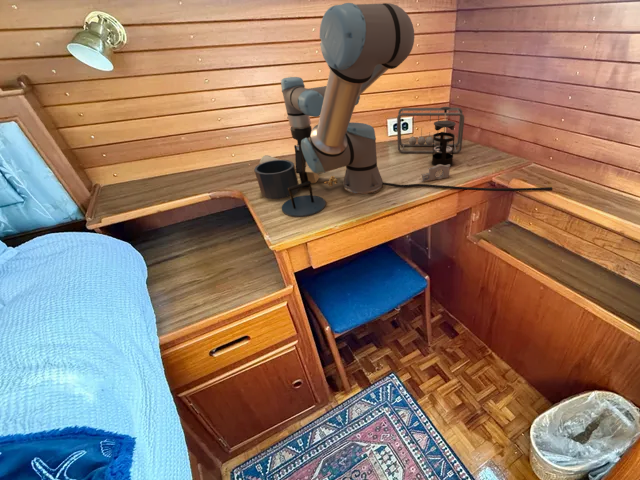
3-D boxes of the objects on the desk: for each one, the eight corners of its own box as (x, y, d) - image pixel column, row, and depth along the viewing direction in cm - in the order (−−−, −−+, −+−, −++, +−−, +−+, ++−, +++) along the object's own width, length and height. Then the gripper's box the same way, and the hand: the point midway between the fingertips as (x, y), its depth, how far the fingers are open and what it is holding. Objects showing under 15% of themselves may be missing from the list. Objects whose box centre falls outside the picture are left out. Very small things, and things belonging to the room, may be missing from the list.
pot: (306, 192, 125) (300, 166, 119) (270, 204, 118) (263, 177, 112) (290, 181, 134) (284, 156, 127) (256, 191, 127) (248, 166, 120)
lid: (333, 208, 115) (330, 184, 109) (294, 223, 107) (288, 198, 102) (313, 194, 124) (308, 171, 118) (275, 207, 116) (268, 183, 111)
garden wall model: (422, 182, 131) (423, 167, 127) (420, 180, 132) (421, 166, 128) (449, 177, 134) (450, 163, 130) (447, 175, 135) (448, 161, 131)
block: (319, 179, 135) (317, 167, 132) (315, 184, 131) (313, 172, 128) (307, 178, 135) (305, 167, 132) (303, 184, 131) (301, 171, 128)
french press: (454, 167, 142) (459, 110, 127) (432, 168, 142) (434, 110, 128) (451, 158, 151) (455, 103, 137) (430, 158, 151) (432, 103, 137)
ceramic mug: (276, 180, 135) (271, 161, 130) (261, 176, 138) (256, 158, 133) (294, 171, 142) (290, 153, 137) (280, 168, 145) (276, 150, 140)
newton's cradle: (397, 153, 157) (396, 113, 146) (399, 146, 165) (398, 107, 154) (461, 153, 155) (465, 113, 144) (459, 146, 163) (462, 107, 152)
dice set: (333, 180, 134) (333, 175, 133) (340, 183, 131) (340, 179, 130) (322, 183, 131) (322, 179, 130) (329, 187, 128) (329, 183, 127)
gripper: (301, 116, 130) (311, 168, 143) (277, 136, 111) (291, 194, 124) (319, 116, 129) (327, 168, 143) (299, 137, 110) (311, 195, 123)
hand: (311, 180), depth 133 cm, fingers open, 13 cm apart
